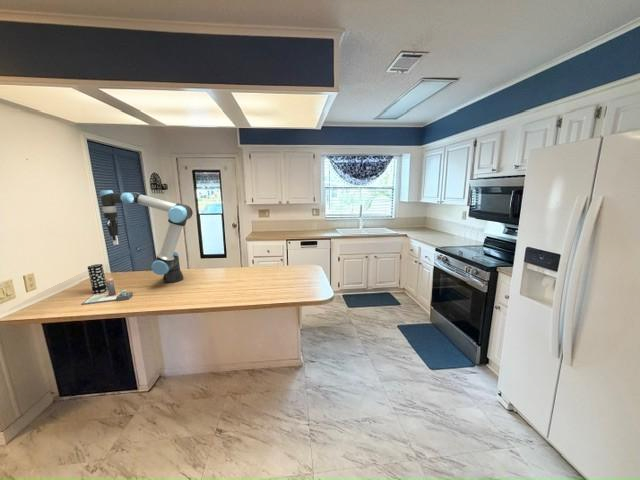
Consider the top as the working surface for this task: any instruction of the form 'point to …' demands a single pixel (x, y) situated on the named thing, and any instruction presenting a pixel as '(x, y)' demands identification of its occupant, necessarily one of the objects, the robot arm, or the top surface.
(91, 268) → the spotted tube
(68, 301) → the top surface
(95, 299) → the picture board
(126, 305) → the top surface
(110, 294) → the grey upright cylinder
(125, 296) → the button housing
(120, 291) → the button
